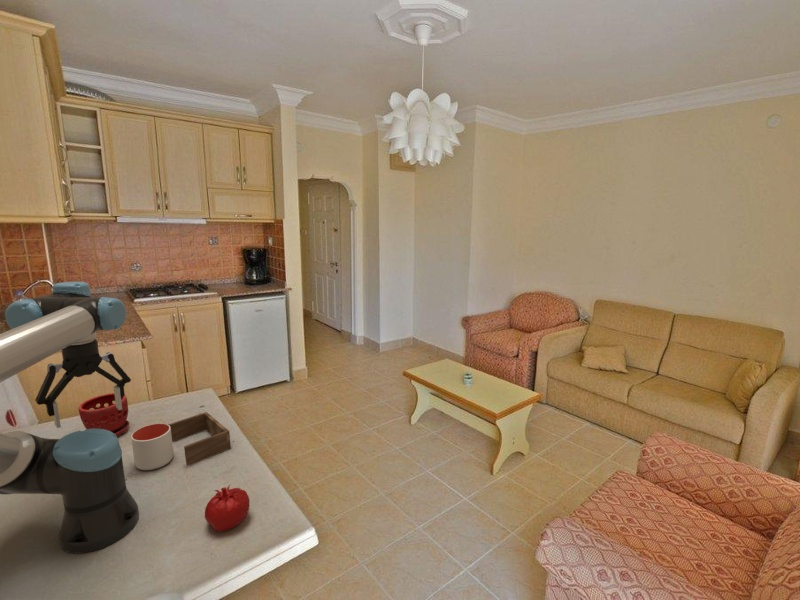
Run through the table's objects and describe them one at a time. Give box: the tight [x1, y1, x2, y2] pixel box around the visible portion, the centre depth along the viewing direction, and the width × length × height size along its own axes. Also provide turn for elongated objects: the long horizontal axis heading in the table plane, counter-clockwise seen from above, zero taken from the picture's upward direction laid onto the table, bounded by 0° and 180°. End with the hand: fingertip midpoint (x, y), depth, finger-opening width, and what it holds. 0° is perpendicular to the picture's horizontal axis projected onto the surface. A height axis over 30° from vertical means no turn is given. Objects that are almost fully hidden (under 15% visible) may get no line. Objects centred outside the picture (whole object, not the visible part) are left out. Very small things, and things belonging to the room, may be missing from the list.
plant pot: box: [77, 392, 130, 437], centre depth 136 cm, size 13×13×12 cm
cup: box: [130, 422, 175, 471], centre depth 121 cm, size 10×10×10 cm
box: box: [167, 411, 232, 467], centre depth 130 cm, size 18×13×6 cm
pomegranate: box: [204, 484, 251, 532], centre depth 98 cm, size 10×10×9 cm
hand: (90, 416), depth 110 cm, fingers open, 13 cm apart
